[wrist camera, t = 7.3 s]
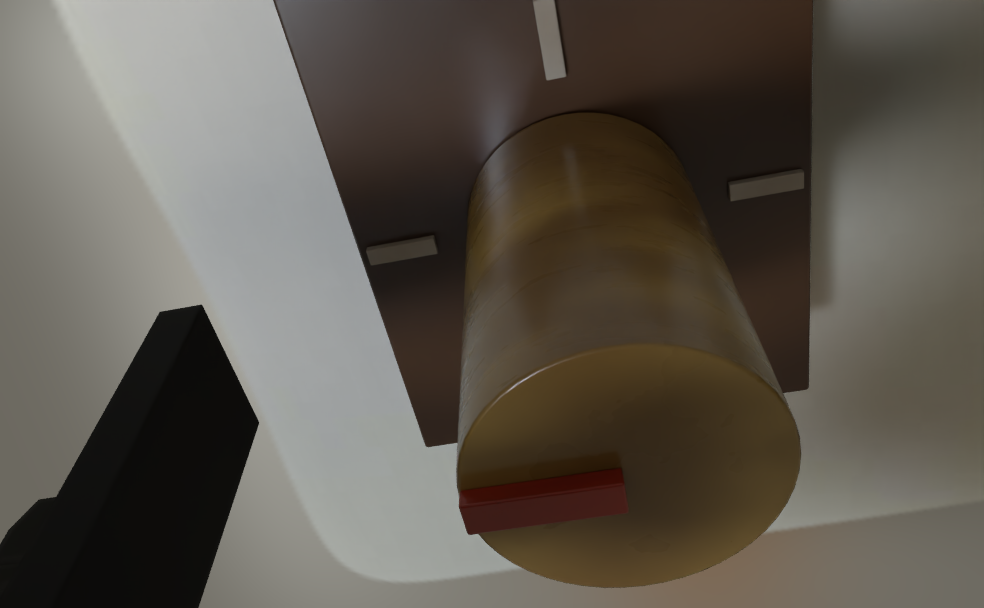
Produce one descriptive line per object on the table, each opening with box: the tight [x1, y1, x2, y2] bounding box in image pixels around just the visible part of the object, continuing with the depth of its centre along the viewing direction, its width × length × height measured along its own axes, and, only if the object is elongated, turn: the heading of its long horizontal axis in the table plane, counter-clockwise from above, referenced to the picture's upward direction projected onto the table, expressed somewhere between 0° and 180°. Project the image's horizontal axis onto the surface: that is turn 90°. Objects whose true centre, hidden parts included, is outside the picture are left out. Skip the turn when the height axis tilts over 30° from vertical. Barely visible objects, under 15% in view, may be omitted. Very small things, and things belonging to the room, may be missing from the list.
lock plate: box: [273, 0, 813, 447], centre depth 18 cm, size 11×9×3 cm
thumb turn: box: [456, 113, 801, 588], centre depth 14 cm, size 4×4×7 cm
